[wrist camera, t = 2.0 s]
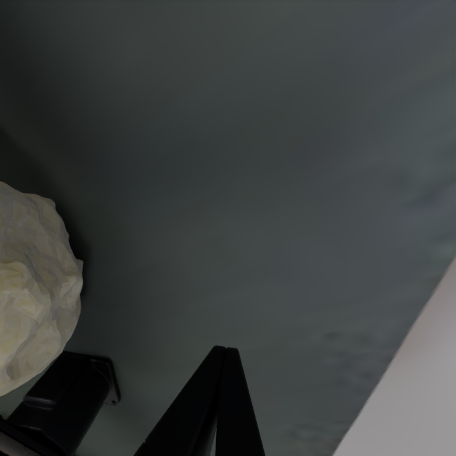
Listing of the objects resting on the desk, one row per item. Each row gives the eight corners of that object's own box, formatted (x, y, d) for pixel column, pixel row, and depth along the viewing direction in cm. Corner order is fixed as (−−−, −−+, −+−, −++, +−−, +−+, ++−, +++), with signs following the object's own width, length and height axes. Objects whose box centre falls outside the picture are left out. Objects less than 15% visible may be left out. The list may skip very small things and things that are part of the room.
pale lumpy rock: (80, 322, 25) (121, 417, 13) (-22, 351, 20) (-102, 541, 8) (63, 169, 23) (91, 121, 12) (-51, 164, 19) (-195, 77, 7)
